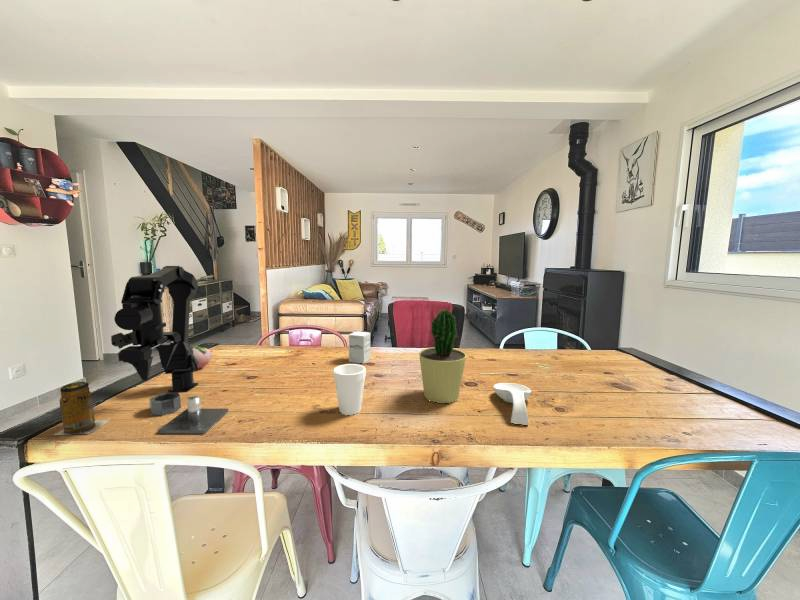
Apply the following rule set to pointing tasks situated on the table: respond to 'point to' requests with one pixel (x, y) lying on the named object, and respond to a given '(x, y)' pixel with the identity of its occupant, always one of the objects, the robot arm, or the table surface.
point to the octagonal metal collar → (165, 403)
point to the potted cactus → (442, 361)
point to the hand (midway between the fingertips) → (155, 373)
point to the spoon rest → (515, 400)
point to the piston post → (193, 419)
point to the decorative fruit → (202, 355)
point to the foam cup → (349, 387)
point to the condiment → (78, 410)
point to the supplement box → (359, 347)
